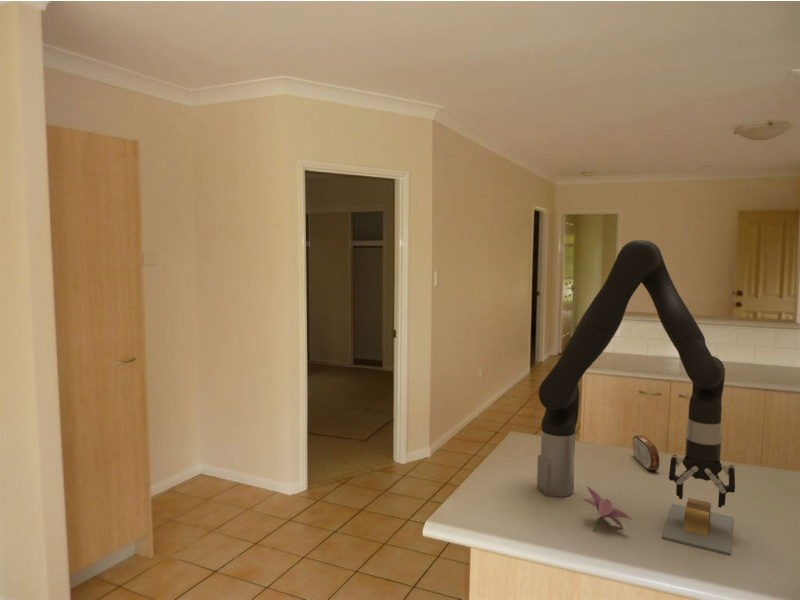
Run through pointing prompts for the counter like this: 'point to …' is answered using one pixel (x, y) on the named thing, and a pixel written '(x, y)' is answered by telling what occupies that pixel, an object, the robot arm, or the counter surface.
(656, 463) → the tin
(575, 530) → the counter surface
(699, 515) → the block
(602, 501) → the lily
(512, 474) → the counter surface
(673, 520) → the mat
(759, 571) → the counter surface
